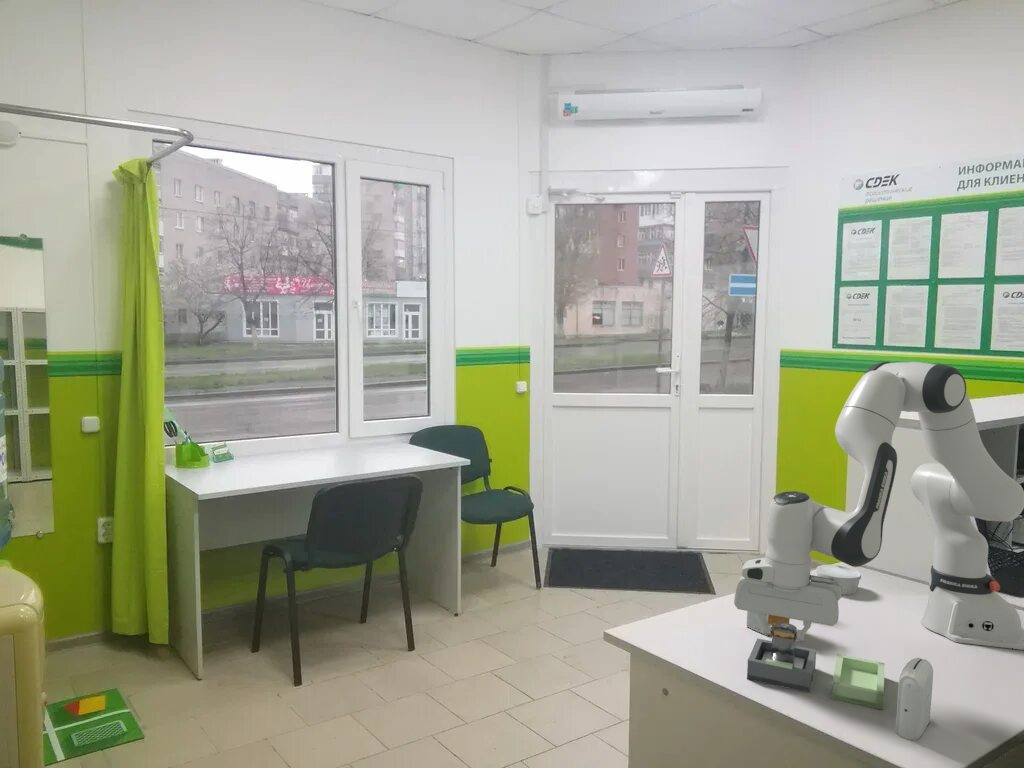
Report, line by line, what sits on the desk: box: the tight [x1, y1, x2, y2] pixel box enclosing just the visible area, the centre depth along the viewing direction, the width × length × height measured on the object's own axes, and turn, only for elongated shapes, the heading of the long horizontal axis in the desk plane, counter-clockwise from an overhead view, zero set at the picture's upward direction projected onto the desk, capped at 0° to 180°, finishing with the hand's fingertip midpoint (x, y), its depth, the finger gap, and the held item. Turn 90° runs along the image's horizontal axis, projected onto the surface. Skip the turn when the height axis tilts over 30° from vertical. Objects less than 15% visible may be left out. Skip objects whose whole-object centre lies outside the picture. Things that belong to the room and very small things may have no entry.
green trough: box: [831, 653, 886, 711], centre depth 156 cm, size 9×15×3 cm, turn 154°
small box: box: [746, 611, 790, 637], centre depth 184 cm, size 8×6×13 cm
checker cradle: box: [746, 638, 817, 694], centre depth 161 cm, size 12×12×5 cm
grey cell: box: [771, 622, 798, 666], centre depth 161 cm, size 5×5×8 cm
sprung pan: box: [762, 651, 805, 669], centre depth 161 cm, size 8×8×1 cm
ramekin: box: [815, 564, 862, 596], centre depth 212 cm, size 11×11×5 cm
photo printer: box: [895, 657, 934, 741], centre depth 141 cm, size 10×4×12 cm, turn 140°
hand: (783, 636), depth 161 cm, fingers open, 5 cm apart
